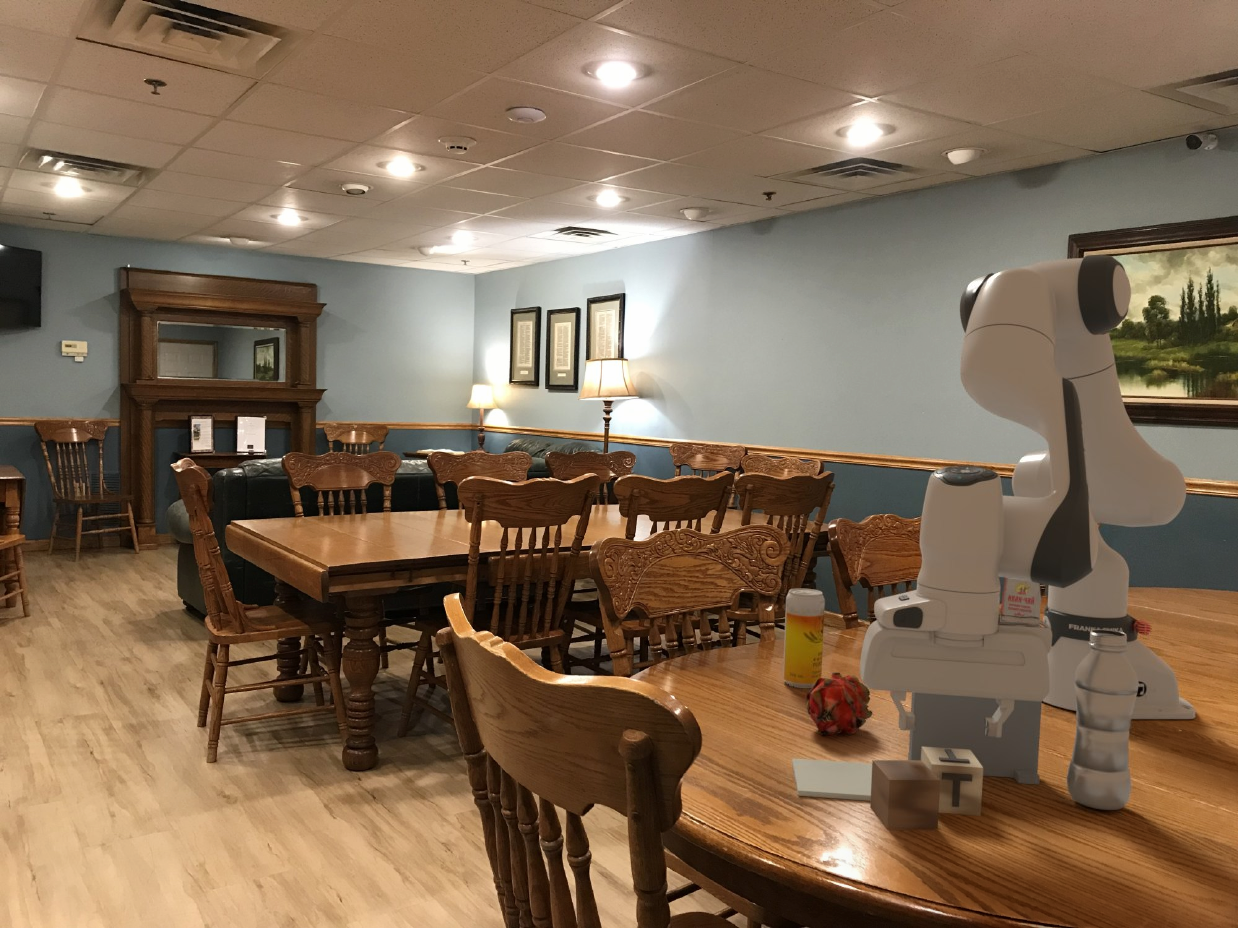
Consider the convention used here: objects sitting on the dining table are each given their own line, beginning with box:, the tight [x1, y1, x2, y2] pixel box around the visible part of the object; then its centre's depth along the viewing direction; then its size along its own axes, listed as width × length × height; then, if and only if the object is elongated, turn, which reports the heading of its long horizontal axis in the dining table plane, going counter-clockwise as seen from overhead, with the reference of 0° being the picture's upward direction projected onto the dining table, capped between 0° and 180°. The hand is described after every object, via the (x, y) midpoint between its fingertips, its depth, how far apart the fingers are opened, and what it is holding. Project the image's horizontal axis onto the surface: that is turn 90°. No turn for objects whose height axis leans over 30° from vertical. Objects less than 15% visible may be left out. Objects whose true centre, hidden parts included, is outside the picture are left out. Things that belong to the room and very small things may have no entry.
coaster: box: [791, 757, 872, 802], centre depth 113 cm, size 10×10×1 cm
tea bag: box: [1000, 577, 1042, 626], centre depth 198 cm, size 4×7×10 cm, turn 51°
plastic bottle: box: [1065, 629, 1139, 811], centre depth 108 cm, size 6×7×20 cm
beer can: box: [782, 588, 826, 689], centre depth 152 cm, size 6×6×15 cm
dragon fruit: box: [805, 671, 873, 736], centre depth 131 cm, size 8×8×12 cm
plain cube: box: [869, 759, 940, 831], centre depth 103 cm, size 6×6×6 cm
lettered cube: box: [921, 747, 984, 816], centre depth 108 cm, size 6×6×6 cm
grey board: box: [907, 692, 1043, 785], centre depth 117 cm, size 15×5×12 cm, turn 84°
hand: (949, 732), depth 107 cm, fingers open, 8 cm apart
